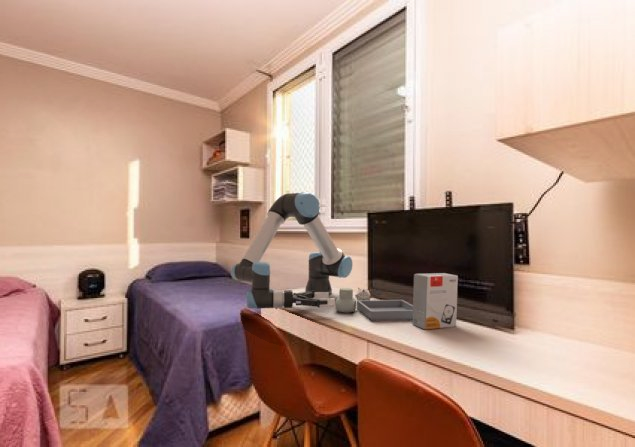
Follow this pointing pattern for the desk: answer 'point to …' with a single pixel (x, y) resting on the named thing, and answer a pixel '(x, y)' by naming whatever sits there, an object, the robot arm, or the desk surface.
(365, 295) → the game die
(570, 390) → the desk surface
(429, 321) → the hard drive box
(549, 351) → the desk surface
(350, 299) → the air freshener
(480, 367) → the desk surface
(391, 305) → the tray
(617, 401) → the desk surface
